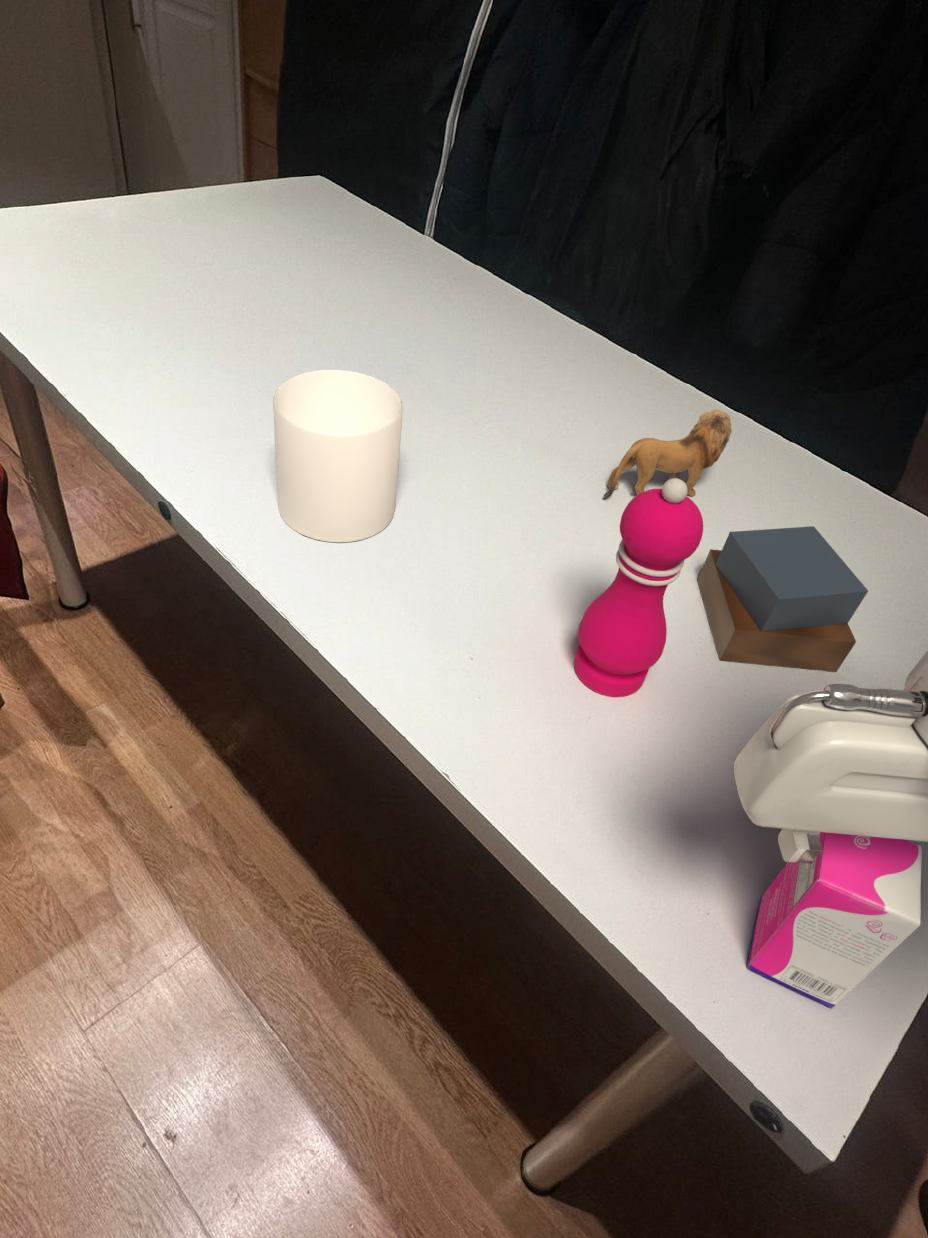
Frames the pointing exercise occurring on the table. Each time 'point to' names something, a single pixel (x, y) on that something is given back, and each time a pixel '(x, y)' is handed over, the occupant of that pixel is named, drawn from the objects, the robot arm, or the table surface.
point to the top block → (789, 578)
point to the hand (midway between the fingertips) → (871, 858)
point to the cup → (337, 454)
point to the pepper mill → (638, 591)
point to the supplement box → (837, 915)
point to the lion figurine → (677, 453)
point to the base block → (773, 648)
